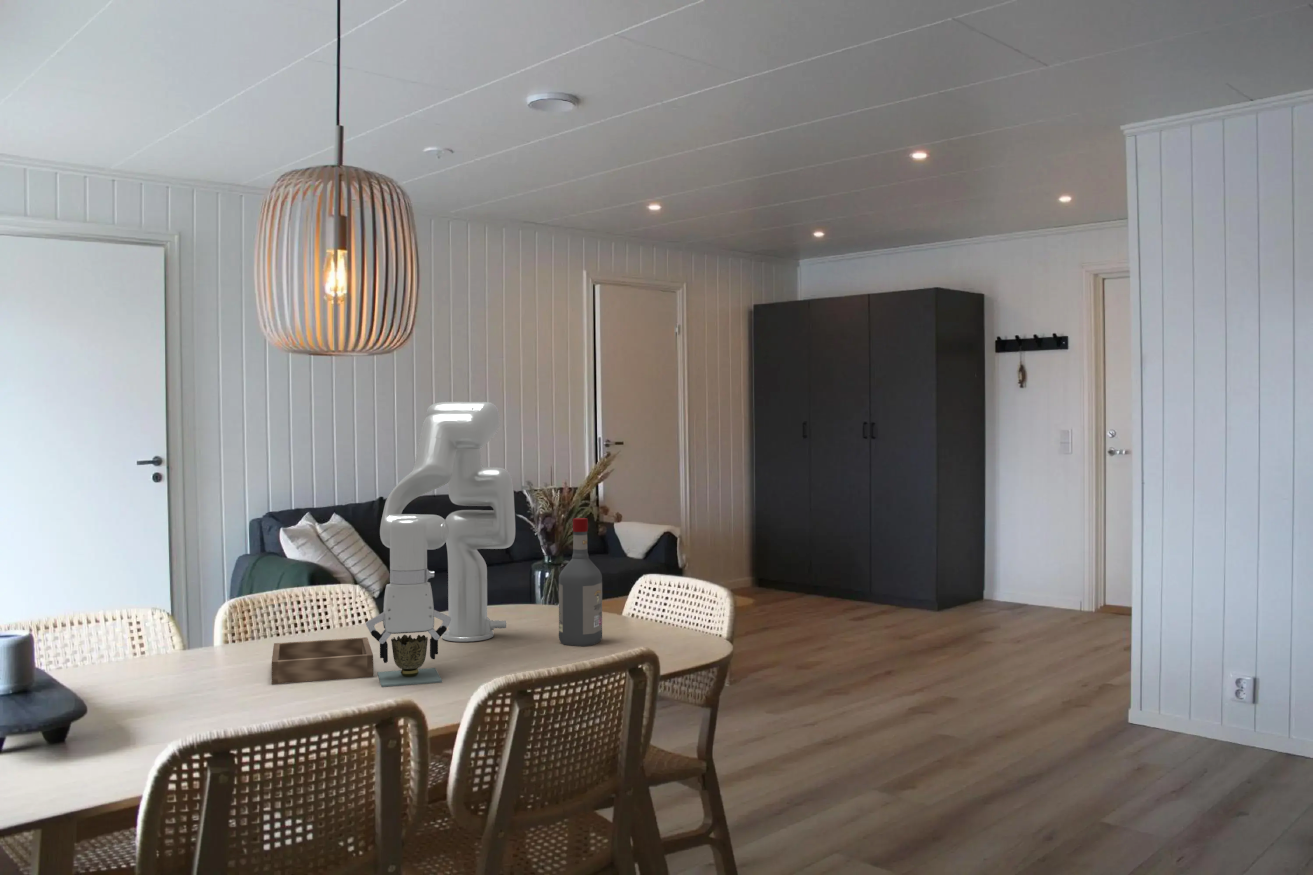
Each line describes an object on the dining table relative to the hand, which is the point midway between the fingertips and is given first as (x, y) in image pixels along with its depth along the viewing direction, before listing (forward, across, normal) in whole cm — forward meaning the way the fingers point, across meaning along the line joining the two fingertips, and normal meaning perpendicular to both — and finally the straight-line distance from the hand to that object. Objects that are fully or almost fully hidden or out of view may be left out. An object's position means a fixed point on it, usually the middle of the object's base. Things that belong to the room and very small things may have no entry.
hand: (409, 659), depth 220 cm
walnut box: (+4, +17, -14) cm, 22 cm away
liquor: (+4, -43, -24) cm, 49 cm away
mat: (+4, 0, 0) cm, 4 cm away
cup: (+4, 0, 0) cm, 4 cm away
